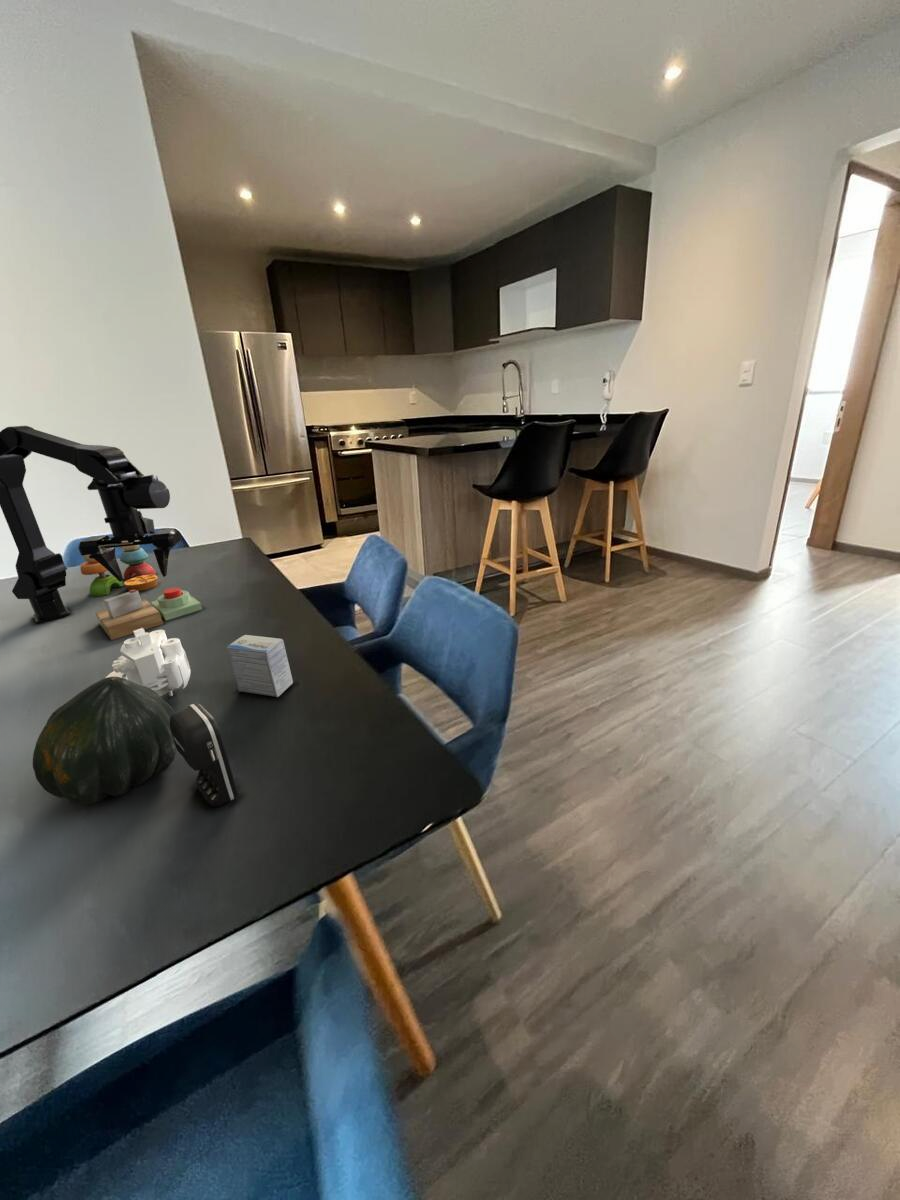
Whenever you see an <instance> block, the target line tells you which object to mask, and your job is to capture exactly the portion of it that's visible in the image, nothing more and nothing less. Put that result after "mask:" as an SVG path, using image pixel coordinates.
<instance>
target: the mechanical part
mask: <svg viewBox="0 0 900 1200" xmlns="http://www.w3.org/2000/svg"><path fill="white" fill-rule="evenodd" d="M133 632H134V633H133V635H134V637H129V638H128V639H126V640H124V641H123V644H122V646H121V648H120V650H119V651H120V654H121V655H120V656H118V657H117V659H114V660H113V662H112V664H111V667H112V670H113V671H112V672H110V673H109V674H108V675H106V676H105V678H108V677H120V678H124V679H127V680H130V681H133V682H135V683H139V684H142V685H144V686H146V687H148V688H150V689H152V690H154V691H155V692H156V693H157V694H158V695H159V696H160V697H161V698H162V697H163V696H164V695H166V694H167V693H168V696H169V697H173V695H174V694H173V691H175V690H185V688H186V687H187V686H188V683H189V681H190V679H191V666H190V663H189V659H188V656H187V653H186V651H185V649H184V648H183V646H182V643H181V640H180V638H178V637H172V638H168V637H167V635H166V630H165V629H155V630H152V631H150V632H148V631H147V632H146V631H145V630H144V629H143V628H141V629H138V630H135V631H133Z"/></svg>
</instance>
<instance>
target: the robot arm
mask: <svg viewBox="0 0 900 1200" xmlns="http://www.w3.org/2000/svg"><path fill="white" fill-rule="evenodd" d="M32 453H36V454H39V455H42V456H45V457H48V458H51V459H55V460H57V461H61V462H64V463H67V464H70V465H72V466H73V467H74V466H75V468H76V469H77V471H78V472H80V473H82V474H84V475H86V476H88V477H90V478H92V480H91V482H90V483H89V484H88V485H87V490H88V491H97V492H98V495H99V498H100V501H101V504H102V506H103V510H104V512H105V516H106V517H104V518H103V520H104V522H105V524H108V525H109V527H110V531H111V533H112V536H111V537H110V536H109V535H108V534H104V535H94V536H93V535H92V536H89V537H87V538H85V539H83V540H80V542H79V543H78V551H79V553H80V556H83V555H90V556H88V557H89V558H90V559H92V558H93V559H95V560H96V561H97V562H99V563H100V564H101V565H102V566H104V567H105V568H106V569H107V570H108V571H107V572H109V573H110V575H111V576H114V577H115V578H116V579H117V580H118V581H120V582H121V581H122V582H123V581H124V576H123V573H122V570H121V568H120V565H119V563H118V561H117V557H116V548H121V547H123V546H133V545H140V546H142V545H151V544H152V545H153V546H154V547H156V548H154V549H153V550H152V551H153V553H154V556H155V559H156V563H157V565H158V568H159V571H160V573H161V576H162V577H163V578H165V577H167V574H168V564H169V556H170V553H171V550H172V549H173V548H174V547H175V546H176V545H177V544H178V543H180V542H181V541H182V540H183V539H182V534H181V532H180V530H178V529H177V528H165V529H158V530H157V531H156V530H155V523H154V519H152V518H148V517H144V516H143V513H142V511H141V510H150V509H153V510H154V509H165V508H166V507H168V505H169V503H170V501H171V493H170V490H169V488H167V486H166V484H165V483H164V482H163V481H161V480H159V477H158V475H157V474H148V475H144V474H143V473H142V471H140V469H138V468H137V467H136V465H135V464H133V462H132V461H131V460H130V459H128V457H127V456H126V455H125V454H124V451H123V450H121V448H118V447H115V446H109V445H101V444H86V443H85V444H84V443H80V442H77V441H73V440H70V439H67V438H64V437H61V436H57V435H54V434H50V433H48V432H44V431H42V430H39V429H35V428H33V427H32V426H28V425H13V426H6V427H5V428H3V429H2V430H0V509H1V511H2V514H3V516H4V519H5V522H6V524H7V526H8V528H9V531H10V533H11V535H12V539H13V541H14V542H15V546H16V548H17V551H18V554H17V559H16V562H15V570H16V574H17V580H16V582H15V583H14V585H13V588H12V590H11V592H12V594H13V595H14V596H15V598H16V599H17V600H28V601H29V603H30V606H31V608H32V611H33V613H34V614H33V615H32V616H33V618H34V620H35V623H36V624H40V623H41V624H42V623H45V622H49V621H52V620H55V619H59V618H63V617H67V616H70V615H71V612H70V610H69V609H68V607H67V606H65V604H64V601H63V599H62V597H61V594H60V592H59V589H60V588H63V587H66V586H67V582H66V581H67V580H66V577H67V570H68V568H67V566H66V565H65V562H64V559H63V555H62V553H55V552H54V551H52V550H51V549H50V548H49V547H47V545H46V542H45V539H44V537H43V534H42V532H41V528H40V527H39V524H38V521H37V518H36V516H35V513H34V510H33V508H32V506H31V503H30V500H29V498H28V495H27V492H26V490H25V487H24V480H25V476H26V473H27V468H26V464H25V459H26V458H27V457H29V456H30V455H31V454H32ZM137 540H138V541H137ZM122 541H128V542H122Z"/></svg>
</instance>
